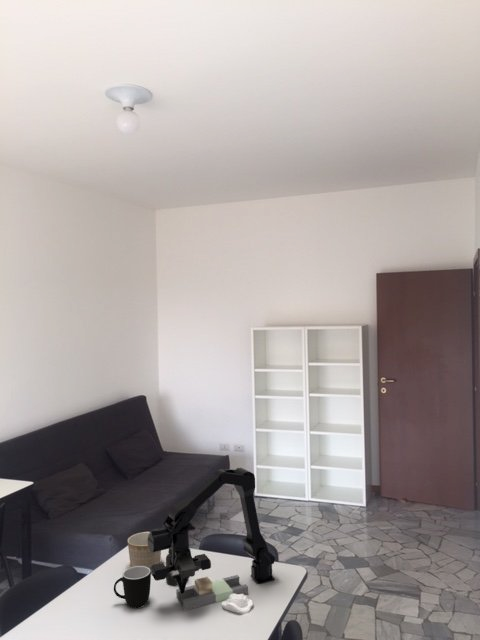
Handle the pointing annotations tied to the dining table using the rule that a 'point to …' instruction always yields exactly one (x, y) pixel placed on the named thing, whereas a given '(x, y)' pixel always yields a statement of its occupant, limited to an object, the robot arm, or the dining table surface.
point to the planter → (142, 551)
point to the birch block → (203, 585)
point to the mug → (135, 586)
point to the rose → (238, 603)
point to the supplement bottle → (168, 562)
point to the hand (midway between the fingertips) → (181, 592)
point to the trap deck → (211, 593)
